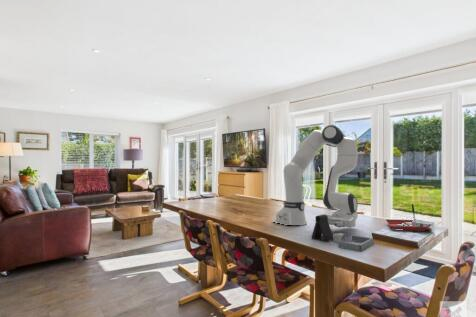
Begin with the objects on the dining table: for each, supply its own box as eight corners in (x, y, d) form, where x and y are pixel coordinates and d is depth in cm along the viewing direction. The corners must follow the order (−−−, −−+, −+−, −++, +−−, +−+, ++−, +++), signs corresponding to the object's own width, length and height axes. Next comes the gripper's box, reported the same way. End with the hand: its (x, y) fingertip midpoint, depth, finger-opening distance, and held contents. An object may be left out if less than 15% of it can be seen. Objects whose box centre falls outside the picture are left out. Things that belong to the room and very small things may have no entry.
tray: (338, 246, 123) (338, 241, 123) (352, 240, 133) (352, 234, 134) (360, 251, 116) (360, 245, 116) (373, 243, 126) (373, 238, 126)
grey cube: (333, 242, 131) (333, 234, 131) (337, 240, 133) (337, 232, 134) (341, 244, 128) (341, 235, 128) (345, 242, 131) (345, 233, 131)
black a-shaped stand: (333, 239, 135) (332, 215, 136) (326, 242, 132) (325, 217, 132) (318, 236, 142) (317, 213, 143) (311, 238, 139) (310, 214, 139)
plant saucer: (390, 231, 149) (390, 225, 149) (385, 224, 166) (385, 218, 166) (429, 233, 143) (429, 226, 143) (420, 225, 160) (419, 220, 160)
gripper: (322, 211, 158) (309, 214, 149) (357, 215, 144) (346, 219, 134) (322, 222, 158) (310, 226, 148) (358, 227, 143) (346, 232, 134)
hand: (327, 223), depth 141 cm, fingers open, 8 cm apart
